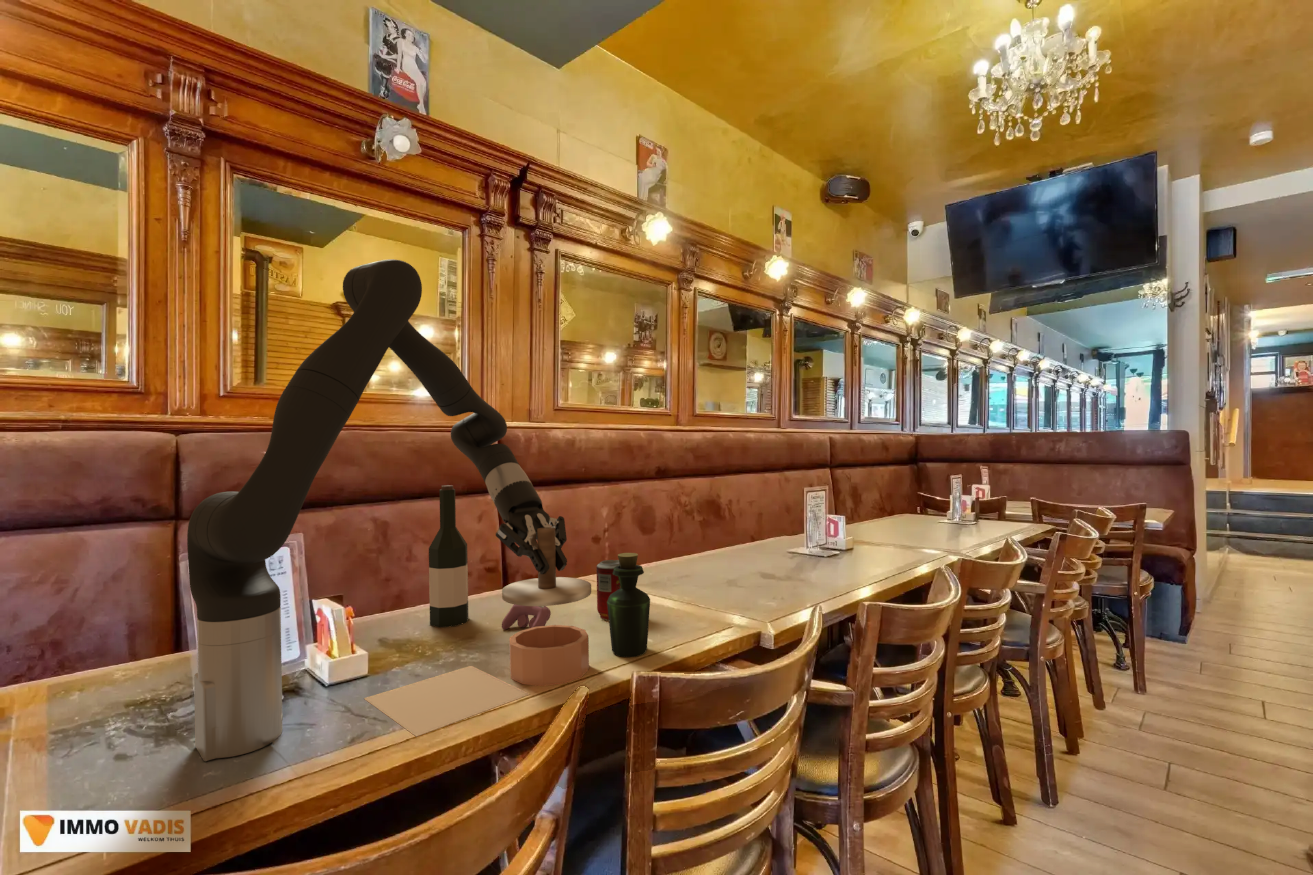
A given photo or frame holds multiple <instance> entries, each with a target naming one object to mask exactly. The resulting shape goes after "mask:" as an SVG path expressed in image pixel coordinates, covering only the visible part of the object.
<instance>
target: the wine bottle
mask: <svg viewBox="0 0 1313 875" xmlns="http://www.w3.org/2000/svg"><path fill="white" fill-rule="evenodd" d="M456 509H457V508H456V489H455V488H454V485H452V484H451V485H449V484H447V485H441V489H439V529H438V531H437V533H436V535H435V536H434V538H433V540H432V541H431V544H429V547H428V572H429V573H428V578H429V579H428V583H429V584H428V588H429V594H428V595H429V625H430V626H433V627H437V628H448V627H449V626H451V627H456V626H460V625H463V624H466V622H467V623H468V621H469V577H468V576H469V575H468V574H469V571H468V570H469V569H468V566H469V565H468V562H469V561H468V543H467V542H466V540H465V539H464V537H463V536H462V534H461V532H460V530H459V529H458V527H457V523H456V522H457V521H456V520H457V518H456V516H457V514H456V511H457V510H456ZM462 623H463V624H462ZM449 628H450V627H449Z"/></svg>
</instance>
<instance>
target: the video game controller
mask: <svg viewBox="0 0 1313 875" xmlns="http://www.w3.org/2000/svg"><path fill="white" fill-rule="evenodd" d="M551 614H552V613H551V609H550V608H549V606H521V605H515V604H512V606H511V608H510V609H509V611H508V612H507V614H506V615H505V616H504V618H502V619H503V620H502V621H501V629H503V631H504V630H508V629H509V628H511V627H513V625H514V624H515V623H516V622H517V626H518V627H519V628H523V629H525V628H527V627H528V629H529V628H533V627H538V626H546V624H547V622H548V621H549V620H550V618H551V616H552V615H551ZM529 616H533V617H532V618H529Z"/></svg>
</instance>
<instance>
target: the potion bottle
mask: <svg viewBox="0 0 1313 875" xmlns="http://www.w3.org/2000/svg"><path fill="white" fill-rule="evenodd" d="M638 557H639V554H638V553H636V552H623V553H618V554H617V560H619V564H620V565H618V566H615V567H614V570H613V575H615V576H618V579H619V582H620V586H621V588H620V589H618V590H617V591H615V592H614V593H612V594H611V595H610V596H609V598H608V600H607V608H608V617H609V620H608V624H609V634H610V635H609V636H610V643H611V644H610V645H611V651H612V653H613V654H614V655H615V656H617V657H621V658H634V657H635V658H636V657H639V656H642V655H644V654H646V652H647V651H648V638H649V624H650V610H651V607H650V606H651V597H650V596H649V594H648V593H647V592H645V591H643V590H641V589H640V588H638V587H637V586H638V585H637V583H638V579H639V576H642V575H644V573H645V571H644V569H643V567H642V565H639V564H638V563H637V562H638Z"/></svg>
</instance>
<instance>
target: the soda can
mask: <svg viewBox="0 0 1313 875" xmlns="http://www.w3.org/2000/svg"><path fill="white" fill-rule="evenodd" d="M618 565H620V564H619V559H609V560H608V559H607V560H602V561H600V562H599V563H598V564H597V565H596V611H597V612H598V615H599V617H600V619H601V620H604V621H609V617H608V608H607V600H608V598H609V596H610V595H611V594H612V593H614V592H615V591H617V590H618V589H620V588H621V586H620V582H619V579H618V576H615V575H613V570H614V567H615V566H618Z"/></svg>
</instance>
